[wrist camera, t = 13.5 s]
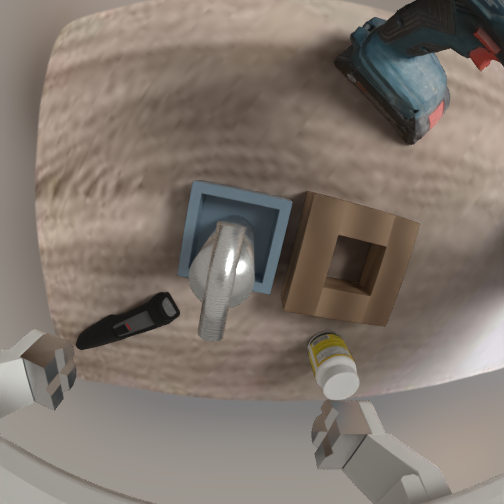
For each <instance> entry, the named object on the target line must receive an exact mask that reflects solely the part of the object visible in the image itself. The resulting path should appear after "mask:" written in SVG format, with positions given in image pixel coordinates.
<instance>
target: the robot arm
mask: <svg viewBox="0 0 504 504" xmlns="http://www.w3.org/2000/svg"><path fill="white" fill-rule="evenodd" d="M73 355H74V349H73V345H72V344H70V343H68V342H66V341H64V340H61V339H59V338H57V337H54V336H52V335H50V334H47V333H44V332H42V331H40V330H38V329H33V330H32V331H30V332H29V333H28V334H27V335H26V336H25V337H23V338H22V339H21V340H20V341H19V342H17V343H16V344H15V345H14V346H13V347H12V348H10V349H9V350H8V351H7V350H5V349H3V350H0V418H2V417H4V416H6V415H8V414H10V413H12V412H15V411H17V410H19V409H21V408H23V407H26V406H28V405H30V404H32V403H34V401H35V402H37V403H39V404H41V405H43V406H45V407H48V408H50V409H52V410H54V411H55V410H56V408H57V407H58V405H59V404H60V403H61V401H62V400H63V398H64V397H63V392H66V391H69V390H70V389H71V388H72V386H73V384H74V382H75V379H76V365H75V363H74V362H73V360H72V359H71V358H72V357H73ZM321 410H322V414H321V415H320V416H318V417H317V418H316V419H315V421H314V424H313V427H312V442H313V445H315V446H316V447H317V448H318V449H317V451H316V452H315V458H316V463H317V468H318V469H343V470H342V471H343V472H344V473H345V474H346V476H347V477H348V478H349V479H350V480H351V481H352V482H353V483H354V484H355V485H356V486H357V487H358V489H359V490H360V491H361V492H362V493H363V494H364V495H365V496H366V497H367V498H368V499H369V500H370V501H371V502H372V503H373V504H504V473H502V474H500V475H498V476H495V477H493V478H491V479H489V480H487V481H484V482H482V483H480V484H477V485H475V486H472V487H470V488H467V489H464V490H462V491H459V492H456V493H453V494H452V492H451V490H450V488H449V486H448V484H447V482H446V480H445V478H444V476H443V474H442V472H441V470H440V469H439V468H438V467H437V466H435V465H434V464H433V463H431V462H430V461H428V460H427V459H425V458H424V457H422V456H421V455H419V454H418V453H416V452H415V451H414V450H412V449H411V448H409V447H408V446H406V445H405V444H404V443H402V442H401V441H399V440H398V439H396V438H395V437H394V436H392V435H391V434H386V433H385V431H384V428H383V426H382V424H381V422H380V420H379V418H378V415H377V413H376V411H375V409H374V407H373V405H372V403H371V402H370V401H346V400H328V399H327V400H326V401H325V402H324V403H323V405H322V407H321ZM0 504H155V503H152V502H148V501H144V500H141V499H137V498H134V497H131V496H128V495H125V494H122V493H119V492H116V491H113V490H110V489H107V488H104V487H102V486H99V485H97V484H94V483H92V482H89V481H87V480H84V479H82V478H80V477H77V476H75V475H73V474H70V473H68V472H66V471H64V470H62V469H60V468H58V467H56V466H53V465H52V464H50V463H48V462H46V461H44V460H42V459H40V458H38V457H37V456H35V455H33V454H31V453H30V452H28V451H26V450H24V449H23V448H21V447H19V446H17V445H16V444H14V443H13V442H11V441H9V440H8V439H6V438H5V437H4V436H2V435H0Z"/></svg>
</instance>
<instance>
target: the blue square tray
mask: <svg viewBox="0 0 504 504" xmlns="http://www.w3.org/2000/svg"><path fill="white" fill-rule="evenodd" d="M292 203H293V201H291V200H290V199H288V198H284V197H280V196H275V195H271V194H266V193H262V192H257V191H252V190H248V189H243V188H238V187H233V186H228V185H223V184H218V183H213V182H208V181H203V180H196V181H193V184H192V190H191V195H190V200H189V206H188V211H187V217H186V223H185V229H184V235H183V241H182V247H181V254H180V260H179V267H178V274H177V275H178V276H182V277H187V278H189V270H190V267H191V264H192V262H193V261H194V259H195V258H196V256H197V255H198V253H199V252H200V250H201V249H202V247H203V246H204V244H205V243H206V241H207V240H208V238H209V237H210V235H211V234H212V232H213V231H214V229H215V228H216V226H217V222H218V221H221V220H222V219H223V218H225V217H227V216H230V215H240V216H242V217H244V218H246V219H247V220H248V221H249V222H250V223H251V225H252V227H253V230H254V286H253V290H252V291H254V292H259V293H264V294H269V295H270V292H271V288H272V285H273V281H274V277H275V273H276V269H277V265H278V261H279V257H280V253H281V249H282V245H283V240H284V236H285V232H286V228H287V224H288V220H289V216H290V211H291V207H292Z"/></svg>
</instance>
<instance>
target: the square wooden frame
mask: <svg viewBox="0 0 504 504" xmlns="http://www.w3.org/2000/svg"><path fill="white" fill-rule="evenodd" d="M419 226H420V224H419V223H417V222H414V221H411V220H408V219H405V218H403V217H399V216H396V215H393V214H390V213H386V212H383V211H379V210H376V209H373V208H369V207H366V206H362V205H359V204H355V203H352V202H348V201H344V200H341V199H337V198H333V197H329V196H325V195H321V194H318V193H314V192H310V191H307V193H306V197H305V201H304V206H303V210H302V214H301V218H300V222H299V226H298V230H297V234H296V238H295V242H294V246H293V250H292V254H291V258H290V262H289V266H288V270H287V273H286V277H285V281H284V285H283V289H282V292H281V299H282V304H283V308H284V311H288V312H294V313H299V314H305V315H311V316H317V317H323V318H329V319H336V320H342V321H349V322H356V323H362V324H369V325H377V326H384V327H385V326H386V324H387V321H388V319H389V316H390V314H391V311H392V309H393V306H394V303H395V301H396V298H397V295H398V292H399V290H400V287H401V284H402V281H403V278H404V275H405V272H406V269H407V266H408V263H409V260H410V257H411V253H412V250H413V247H414V243H415V240H416V236H417V233H418V229H419ZM338 235H342V236H346V237H350V238H354V239H358V240H362V241H366V242H370V243H371V245H370V249H369V252H368V255H367V259H366V262H365V265H364V269H363V272H362V275H361V278H360V281H359V283H356V282H351V281H346V280H341V279H336V278H331V277H327V273H328V270H329V267H330V263H331V260H332V256H333V253H334V249H335V245H336V242H337V238H338Z"/></svg>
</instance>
